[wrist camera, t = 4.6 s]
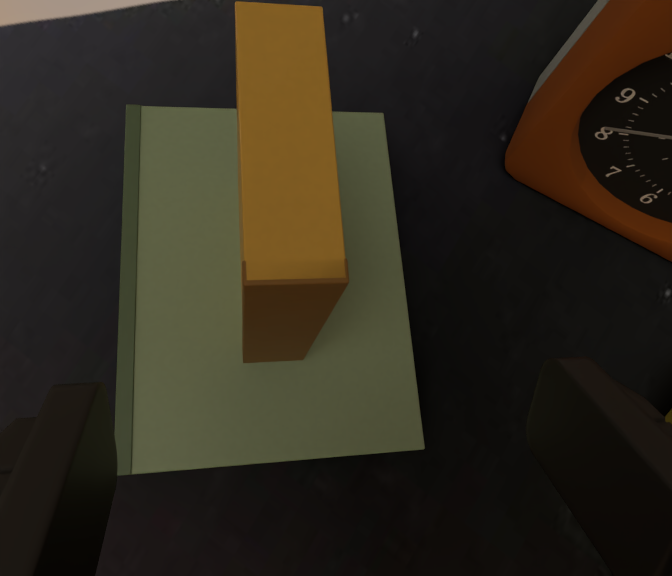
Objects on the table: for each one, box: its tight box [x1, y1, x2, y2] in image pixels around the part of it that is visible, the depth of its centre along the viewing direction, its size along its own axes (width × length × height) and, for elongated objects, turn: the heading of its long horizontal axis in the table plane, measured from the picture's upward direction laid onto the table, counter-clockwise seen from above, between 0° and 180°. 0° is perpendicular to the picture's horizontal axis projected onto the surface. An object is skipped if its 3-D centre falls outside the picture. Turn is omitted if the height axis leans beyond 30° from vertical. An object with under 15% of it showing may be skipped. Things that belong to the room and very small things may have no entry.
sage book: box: [114, 105, 425, 476], centre depth 31 cm, size 15×20×3 cm
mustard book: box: [235, 1, 349, 363], centre depth 23 cm, size 3×10×13 cm, turn 5°
